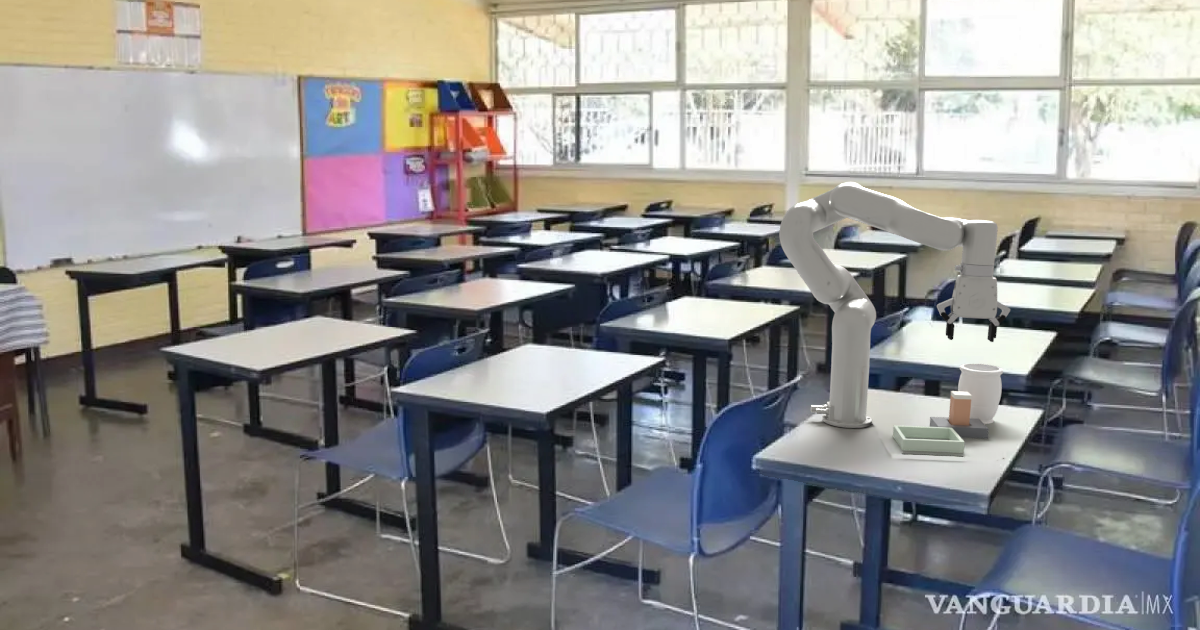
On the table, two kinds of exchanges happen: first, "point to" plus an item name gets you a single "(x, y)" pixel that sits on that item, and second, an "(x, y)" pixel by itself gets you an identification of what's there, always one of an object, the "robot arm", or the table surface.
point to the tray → (949, 445)
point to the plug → (960, 408)
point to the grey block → (963, 427)
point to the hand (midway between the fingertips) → (970, 339)
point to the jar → (982, 389)
